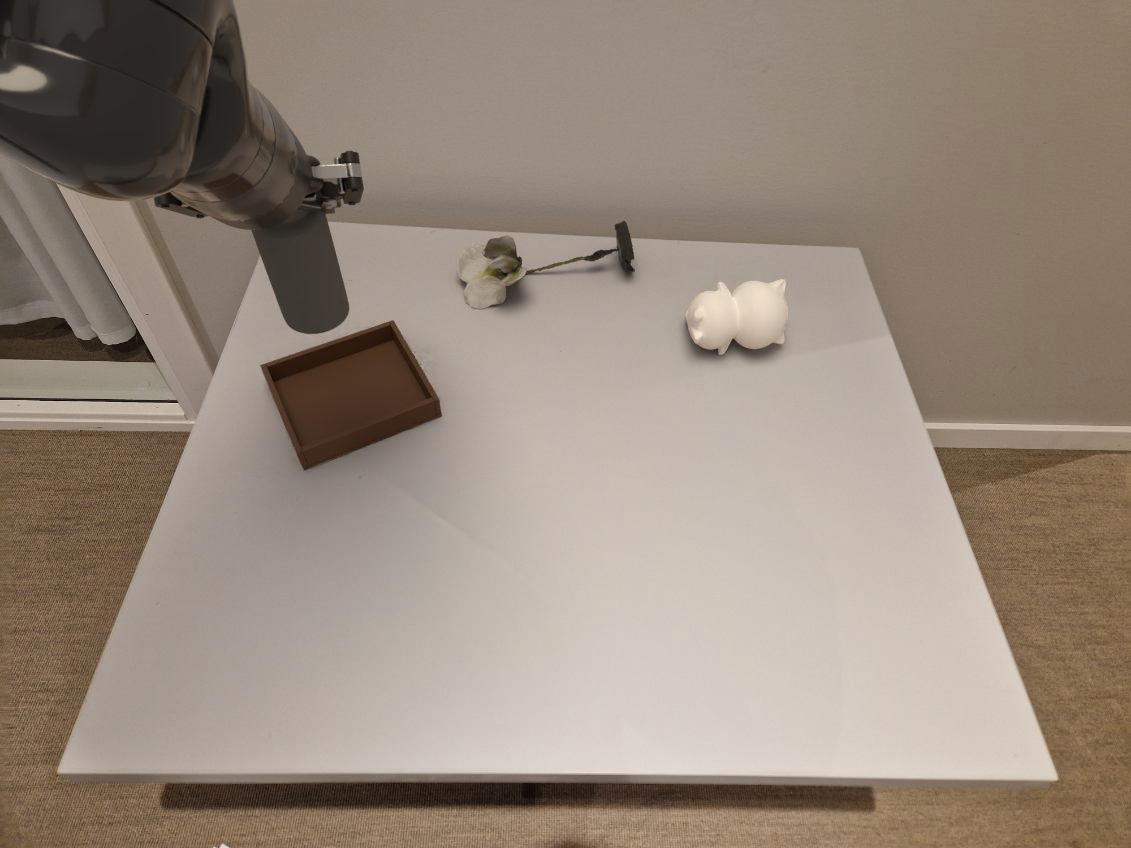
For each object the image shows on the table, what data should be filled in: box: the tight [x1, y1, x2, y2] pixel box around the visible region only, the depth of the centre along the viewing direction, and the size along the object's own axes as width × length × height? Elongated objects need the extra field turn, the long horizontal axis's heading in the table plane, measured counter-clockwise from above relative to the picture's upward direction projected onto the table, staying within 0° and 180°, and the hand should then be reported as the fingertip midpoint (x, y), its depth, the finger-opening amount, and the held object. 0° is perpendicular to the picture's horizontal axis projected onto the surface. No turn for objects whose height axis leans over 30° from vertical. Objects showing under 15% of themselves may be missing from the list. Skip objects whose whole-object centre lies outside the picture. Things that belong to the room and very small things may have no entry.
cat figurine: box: [684, 278, 789, 356], centre depth 86 cm, size 9×11×12 cm
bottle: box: [250, 208, 350, 335], centre depth 60 cm, size 6×6×15 cm
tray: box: [259, 319, 443, 471], centre depth 79 cm, size 15×13×3 cm
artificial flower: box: [455, 220, 636, 310], centre depth 90 cm, size 9×22×10 cm, turn 102°
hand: (287, 204), depth 59 cm, fingers closed on bottle, 5 cm apart
